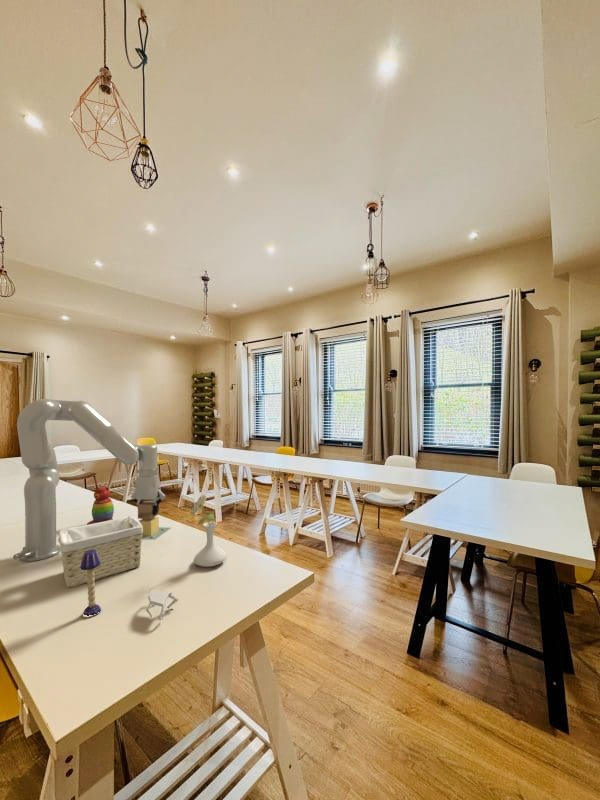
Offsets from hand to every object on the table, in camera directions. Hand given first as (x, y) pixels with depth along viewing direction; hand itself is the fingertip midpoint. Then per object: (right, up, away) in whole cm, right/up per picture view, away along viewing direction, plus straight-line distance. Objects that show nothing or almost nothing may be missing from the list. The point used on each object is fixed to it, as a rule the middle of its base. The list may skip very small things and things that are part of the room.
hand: (148, 513), depth 149 cm
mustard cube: (0, -9, 0) cm, 9 cm away
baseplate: (0, -10, 0) cm, 10 cm away
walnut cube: (0, -1, 0) cm, 1 cm away
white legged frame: (+28, -8, -57) cm, 64 cm away
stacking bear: (-29, -11, +15) cm, 35 cm away
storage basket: (-2, -9, -32) cm, 33 cm away
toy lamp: (+10, -8, -57) cm, 58 cm away
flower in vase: (+34, -9, -28) cm, 45 cm away
